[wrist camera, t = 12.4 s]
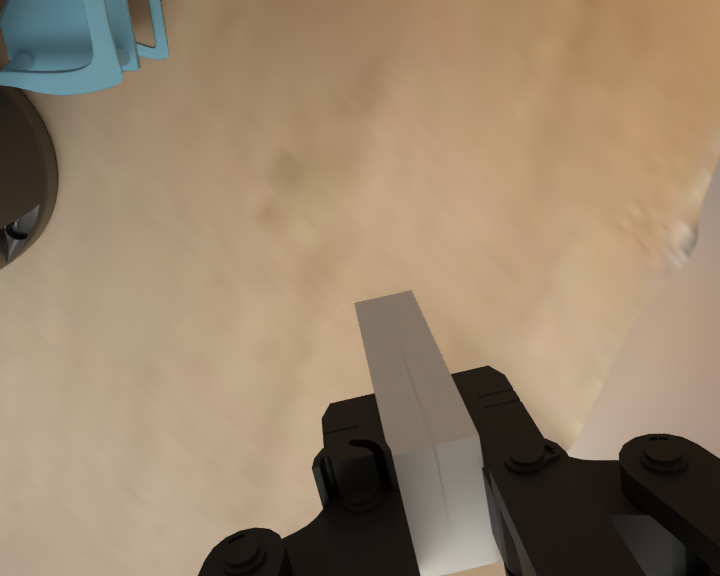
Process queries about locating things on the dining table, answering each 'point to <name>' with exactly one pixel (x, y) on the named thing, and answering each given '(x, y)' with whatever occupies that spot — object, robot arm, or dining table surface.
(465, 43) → the dining table surface
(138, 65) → the chair
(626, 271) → the dining table surface
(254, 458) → the dining table surface
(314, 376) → the dining table surface
